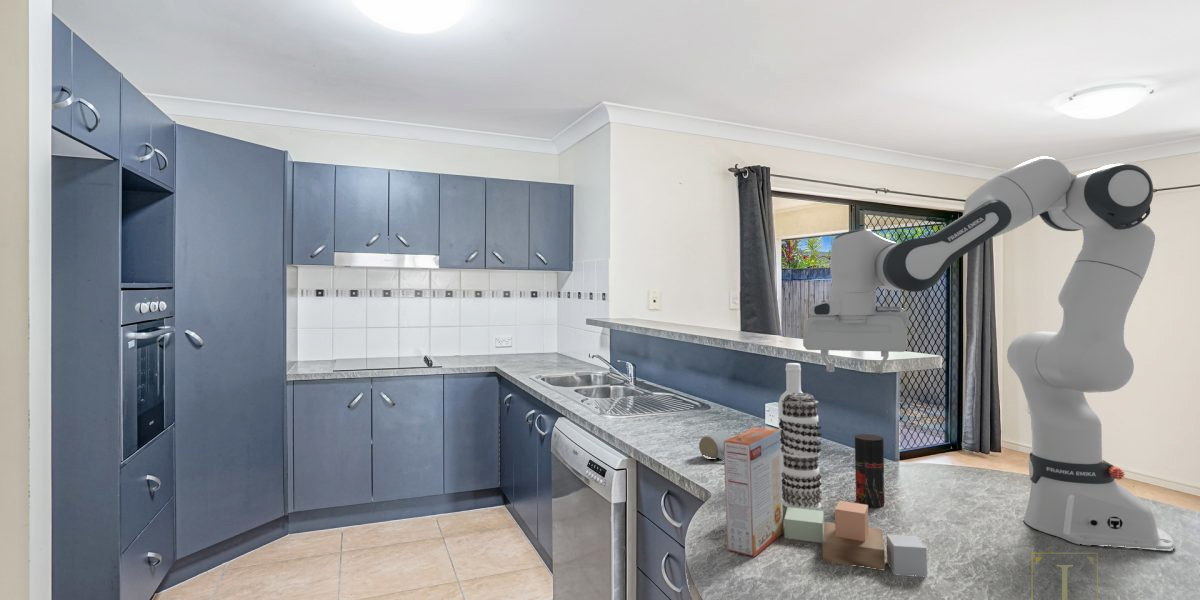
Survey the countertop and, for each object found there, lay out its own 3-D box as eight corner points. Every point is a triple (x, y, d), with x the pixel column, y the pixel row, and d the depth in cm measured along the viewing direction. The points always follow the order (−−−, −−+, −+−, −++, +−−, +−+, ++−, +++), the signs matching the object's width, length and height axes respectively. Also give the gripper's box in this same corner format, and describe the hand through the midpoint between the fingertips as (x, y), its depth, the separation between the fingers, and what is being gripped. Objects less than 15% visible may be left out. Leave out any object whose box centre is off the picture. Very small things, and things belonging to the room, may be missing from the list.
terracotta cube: (868, 531, 110) (868, 504, 110) (865, 541, 106) (864, 513, 106) (839, 527, 113) (839, 500, 113) (835, 536, 109) (834, 509, 109)
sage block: (823, 530, 121) (823, 511, 121) (822, 544, 114) (822, 523, 114) (787, 526, 123) (787, 507, 123) (784, 539, 117) (784, 518, 117)
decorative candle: (772, 505, 135) (770, 395, 135) (792, 494, 142) (790, 390, 142) (811, 514, 129) (809, 399, 129) (829, 503, 135) (827, 393, 135)
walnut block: (882, 550, 112) (881, 528, 112) (884, 573, 102) (884, 550, 102) (825, 542, 116) (824, 521, 116) (822, 563, 106) (822, 541, 106)
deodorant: (887, 508, 132) (886, 440, 132) (859, 506, 133) (857, 439, 133) (880, 499, 138) (879, 434, 138) (853, 498, 139) (852, 433, 139)
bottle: (818, 482, 151) (816, 364, 151) (793, 486, 148) (791, 366, 148) (797, 473, 158) (795, 361, 158) (772, 477, 156) (770, 363, 155)
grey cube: (917, 564, 105) (917, 536, 105) (926, 577, 100) (926, 547, 100) (886, 562, 106) (886, 534, 106) (894, 575, 101) (894, 545, 101)
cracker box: (756, 527, 123) (754, 425, 123) (784, 534, 119) (782, 429, 119) (724, 550, 112) (722, 439, 112) (754, 558, 108) (752, 443, 108)
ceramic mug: (697, 458, 176) (697, 432, 176) (714, 453, 181) (714, 428, 181) (726, 466, 168) (726, 439, 167) (743, 460, 173) (743, 434, 173)
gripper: (908, 305, 124) (909, 372, 124) (805, 306, 133) (806, 368, 133) (909, 306, 118) (910, 376, 118) (801, 307, 127) (802, 372, 127)
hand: (854, 372), depth 125 cm, fingers open, 8 cm apart
